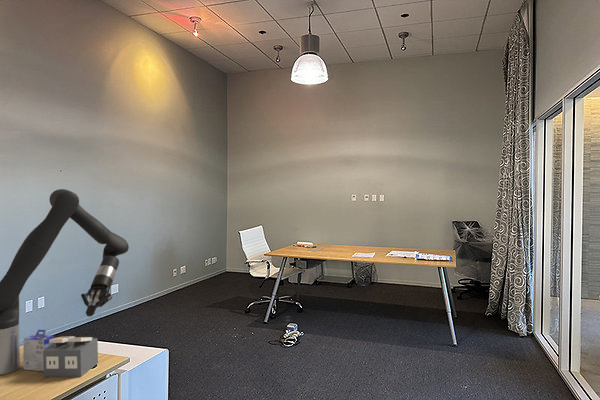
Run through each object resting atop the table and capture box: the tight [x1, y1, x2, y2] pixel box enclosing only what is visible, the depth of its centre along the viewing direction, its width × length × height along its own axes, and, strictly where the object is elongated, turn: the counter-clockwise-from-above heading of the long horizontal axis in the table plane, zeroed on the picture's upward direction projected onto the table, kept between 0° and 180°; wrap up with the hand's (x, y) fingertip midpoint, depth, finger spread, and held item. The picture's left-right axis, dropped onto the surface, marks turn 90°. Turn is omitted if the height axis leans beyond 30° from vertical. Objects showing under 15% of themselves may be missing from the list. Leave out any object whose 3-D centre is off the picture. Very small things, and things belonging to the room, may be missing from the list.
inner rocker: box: [49, 335, 76, 344], centre depth 153 cm, size 5×8×1 cm, turn 179°
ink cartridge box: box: [22, 329, 55, 372], centre depth 155 cm, size 10×6×14 cm, turn 78°
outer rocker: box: [68, 336, 93, 342], centre depth 153 cm, size 5×8×1 cm, turn 179°
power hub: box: [43, 337, 99, 378], centre depth 153 cm, size 14×12×11 cm
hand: (88, 315), depth 159 cm, fingers closed
